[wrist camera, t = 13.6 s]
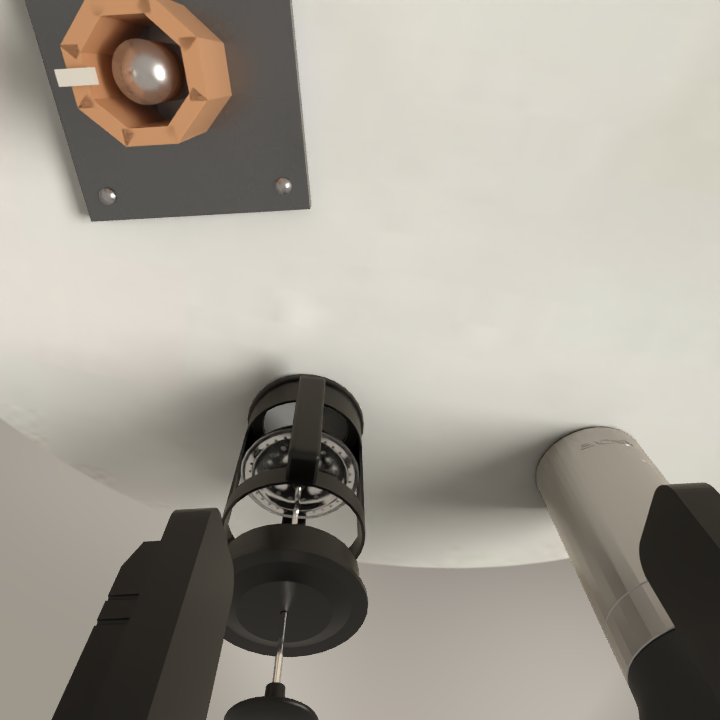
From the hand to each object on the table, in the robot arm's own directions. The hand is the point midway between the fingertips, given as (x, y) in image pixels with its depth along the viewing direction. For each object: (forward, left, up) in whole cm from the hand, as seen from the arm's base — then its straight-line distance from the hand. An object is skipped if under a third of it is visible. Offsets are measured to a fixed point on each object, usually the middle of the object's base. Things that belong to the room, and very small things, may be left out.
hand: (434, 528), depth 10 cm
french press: (-17, +6, -28) cm, 34 cm away
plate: (+8, +11, -28) cm, 31 cm away
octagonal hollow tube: (+8, +11, -27) cm, 30 cm away
